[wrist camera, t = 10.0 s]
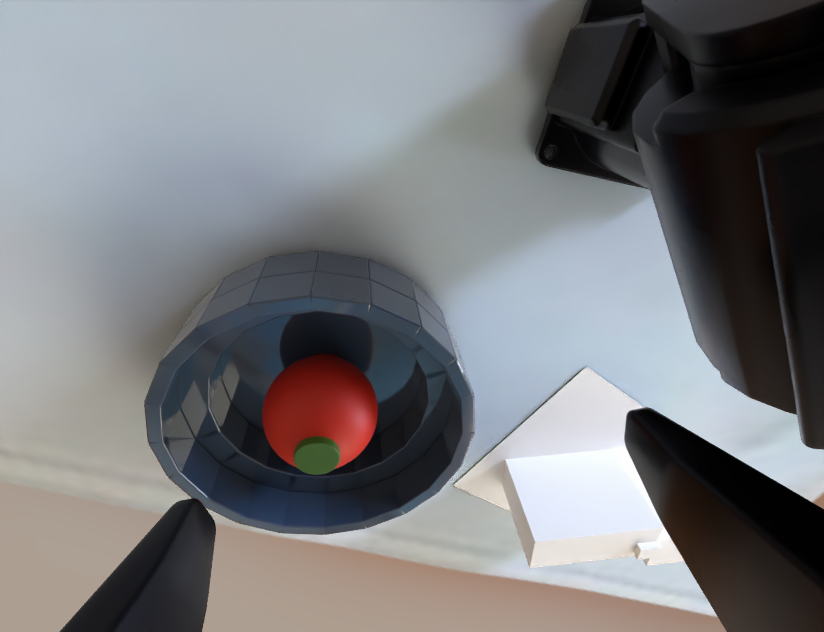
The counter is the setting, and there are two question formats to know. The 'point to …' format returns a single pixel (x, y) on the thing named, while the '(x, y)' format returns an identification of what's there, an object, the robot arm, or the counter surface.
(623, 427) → the napkin holder
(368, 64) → the counter surface
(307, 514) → the bowl
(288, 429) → the tomato
